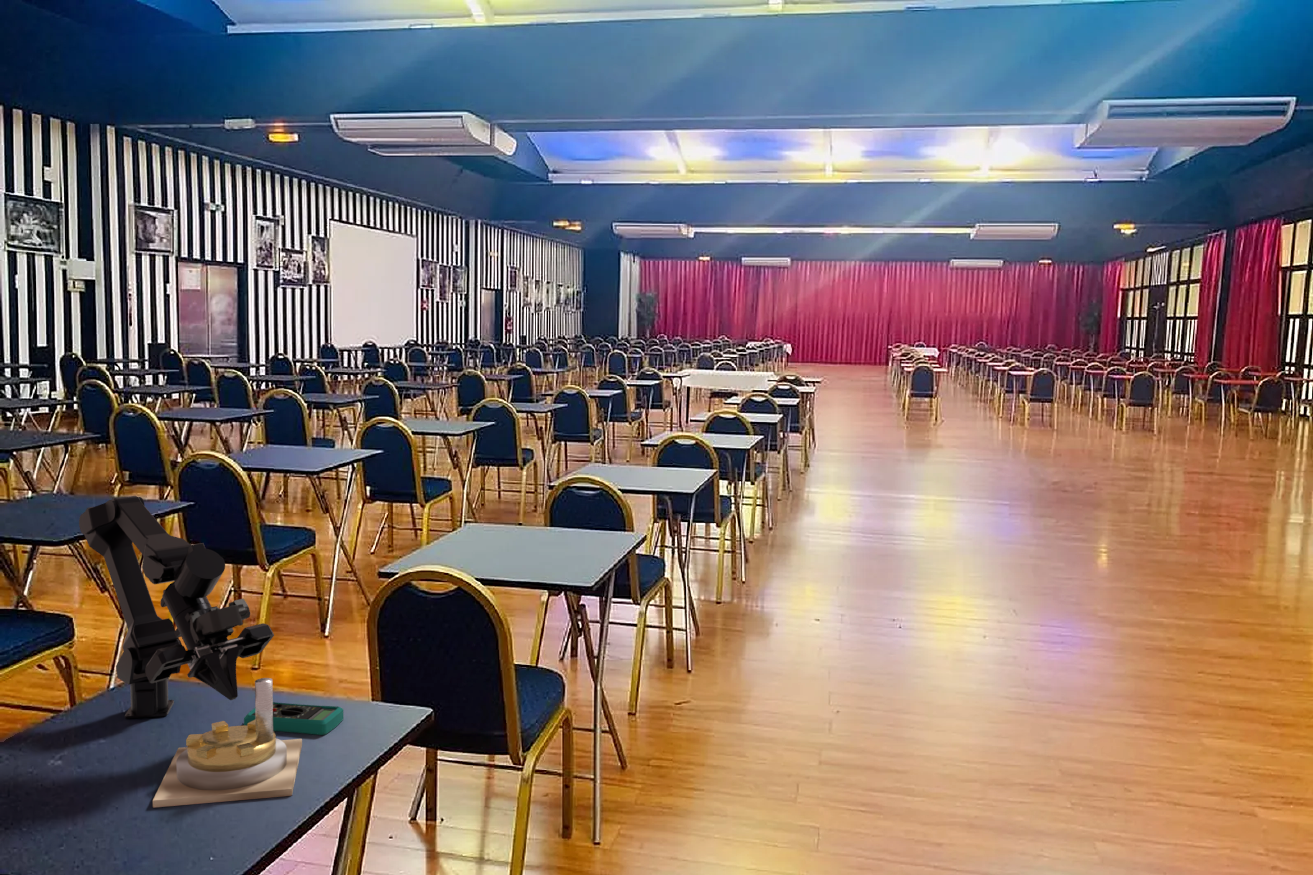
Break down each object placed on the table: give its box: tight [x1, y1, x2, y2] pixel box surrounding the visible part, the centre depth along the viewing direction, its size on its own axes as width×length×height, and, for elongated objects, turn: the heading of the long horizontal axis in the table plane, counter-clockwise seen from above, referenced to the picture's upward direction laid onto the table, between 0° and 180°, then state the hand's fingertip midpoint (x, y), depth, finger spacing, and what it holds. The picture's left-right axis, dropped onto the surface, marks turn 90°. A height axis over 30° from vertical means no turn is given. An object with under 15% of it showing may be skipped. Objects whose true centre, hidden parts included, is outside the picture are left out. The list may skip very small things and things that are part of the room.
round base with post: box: [185, 677, 277, 772], centre depth 150 cm, size 12×12×11 cm
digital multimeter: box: [243, 701, 344, 736], centre depth 170 cm, size 7×15×3 cm, turn 83°
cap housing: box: [152, 738, 303, 808], centre depth 151 cm, size 18×18×3 cm
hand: (234, 698), depth 156 cm, fingers closed
